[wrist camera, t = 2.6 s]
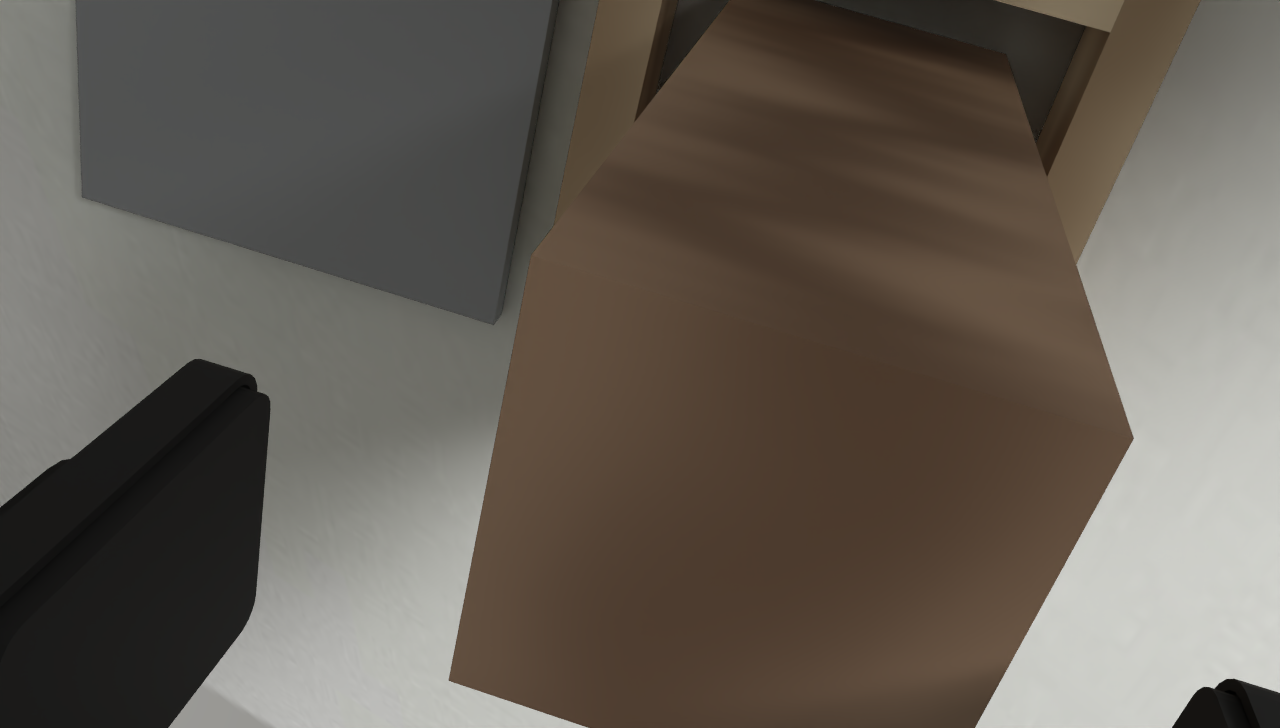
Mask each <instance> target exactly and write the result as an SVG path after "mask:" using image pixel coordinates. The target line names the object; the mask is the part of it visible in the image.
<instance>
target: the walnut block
mask: <svg viewBox="0 0 1280 728" xmlns="http://www.w3.org/2000/svg"><path fill="white" fill-rule="evenodd" d="M1133 439H1134V438H1133V435H1132V432H1131V429H1130V426H1129V423H1128V420H1127V417H1126V414H1125V411H1124V408H1123V405H1122V402H1121V399H1120V396H1119V393H1118V390H1117V387H1116V384H1115V381H1114V378H1113V375H1112V372H1111V369H1110V366H1109V363H1108V360H1107V357H1106V354H1105V351H1104V348H1103V345H1102V342H1101V339H1100V336H1099V333H1098V330H1097V327H1096V324H1095V321H1094V318H1093V315H1092V312H1091V309H1090V306H1089V303H1088V300H1087V297H1086V294H1085V290H1084V287H1083V284H1082V281H1081V278H1080V275H1079V272H1078V269H1077V266H1076V263H1075V260H1074V257H1073V254H1072V251H1071V248H1070V245H1069V242H1068V239H1067V236H1066V233H1065V230H1064V227H1063V224H1062V221H1061V218H1060V215H1059V212H1058V209H1057V206H1056V203H1055V200H1054V197H1053V194H1052V191H1051V188H1050V185H1049V182H1048V179H1047V176H1046V173H1045V170H1044V167H1043V164H1042V161H1041V158H1040V155H1039V152H1038V149H1037V146H1036V143H1035V140H1034V137H1033V134H1032V131H1031V128H1030V125H1029V122H1028V119H1027V116H1026V113H1025V110H1024V107H1023V104H1022V101H1021V98H1020V95H1019V92H1018V89H1017V86H1016V83H1015V80H1014V77H1013V74H1012V71H1011V68H1010V65H1009V62H1008V59H1007V56H1006V54H1004V53H1000V52H997V51H993V50H990V49H986V48H983V47H979V46H975V45H972V44H968V43H965V42H961V41H958V40H954V39H951V38H947V37H943V36H940V35H936V34H933V33H929V32H926V31H922V30H918V29H915V28H911V27H908V26H904V25H901V24H897V23H894V22H890V21H886V20H883V19H879V18H876V17H872V16H869V15H865V14H861V13H858V12H854V11H851V10H847V9H844V8H840V7H837V6H833V5H829V4H826V3H822V2H819V1H815V0H729V2H728V3H727V4H726V6H725V7H724V8H723V9H722V11H721V12H720V13H719V15H718V16H717V17H716V18H715V20H714V21H713V22H712V23H711V25H710V26H709V27H708V29H707V30H706V31H705V32H704V34H703V35H702V36H701V38H700V39H699V40H698V41H697V43H696V44H695V45H694V47H693V48H692V49H691V50H690V52H689V53H688V54H687V56H686V57H685V58H684V59H683V61H682V62H681V63H680V65H679V66H678V67H677V68H676V70H675V71H674V72H673V74H672V75H671V76H670V77H669V79H668V80H667V81H666V83H665V84H664V85H663V86H662V88H661V89H660V90H659V92H658V93H657V94H656V95H655V97H654V98H653V99H652V101H651V102H650V103H649V104H648V106H647V107H646V108H645V110H644V111H643V112H642V113H641V115H640V116H639V117H638V118H637V120H636V121H635V122H634V124H633V125H632V126H631V127H630V129H629V130H628V131H627V133H626V134H625V135H624V136H623V138H622V139H621V140H620V142H619V143H618V144H617V145H616V147H615V148H614V149H613V151H612V152H611V153H610V154H609V156H608V157H607V158H606V160H605V161H604V162H603V163H602V165H601V166H600V167H599V169H598V170H597V171H596V172H595V174H594V175H593V176H592V178H591V179H590V180H589V181H588V183H587V184H586V185H585V187H584V188H583V189H582V190H581V192H580V193H579V194H578V196H577V197H576V198H575V199H574V201H573V202H572V203H571V204H570V206H569V207H568V208H567V210H566V211H565V212H564V213H563V215H562V216H561V217H560V219H559V220H558V221H557V222H556V224H555V225H554V226H553V228H552V229H551V230H550V231H549V233H548V234H547V235H546V237H545V238H544V239H543V240H542V242H541V243H540V244H539V246H538V247H537V248H536V249H535V251H534V252H533V253H532V255H531V258H530V263H529V268H528V273H527V278H526V284H525V289H524V294H523V299H522V304H521V309H520V314H519V320H518V325H517V330H516V335H515V340H514V345H513V351H512V356H511V361H510V366H509V371H508V376H507V382H506V387H505V392H504V397H503V402H502V407H501V413H500V418H499V423H498V428H497V433H496V438H495V444H494V449H493V454H492V459H491V464H490V469H489V475H488V480H487V485H486V490H485V495H484V500H483V506H482V511H481V516H480V521H479V526H478V531H477V537H476V542H475V547H474V552H473V557H472V562H471V568H470V573H469V578H468V583H467V588H466V593H465V599H464V604H463V609H462V614H461V619H460V624H459V630H458V635H457V640H456V645H455V650H454V655H453V661H452V666H451V671H450V676H449V681H451V682H454V683H457V684H460V685H463V686H466V687H469V688H472V689H475V690H478V691H481V692H484V693H487V694H490V695H493V696H496V697H499V698H502V699H505V700H508V701H511V702H514V703H517V704H520V705H523V706H526V707H529V708H532V709H535V710H538V711H540V712H543V713H546V714H549V715H552V716H555V717H558V718H561V719H564V720H567V721H570V722H573V723H576V724H579V725H582V726H585V727H588V728H975V727H976V725H977V723H978V721H979V719H980V717H981V716H982V714H983V712H984V710H985V708H986V707H987V705H988V703H989V701H990V699H991V697H992V696H993V694H994V692H995V690H996V688H997V687H998V685H999V683H1000V681H1001V679H1002V677H1003V676H1004V674H1005V672H1006V670H1007V668H1008V666H1009V665H1010V663H1011V661H1012V659H1013V657H1014V656H1015V654H1016V652H1017V650H1018V648H1019V646H1020V645H1021V643H1022V641H1023V639H1024V637H1025V636H1026V634H1027V632H1028V630H1029V628H1030V626H1031V625H1032V623H1033V621H1034V619H1035V617H1036V616H1037V614H1038V612H1039V610H1040V608H1041V606H1042V605H1043V603H1044V601H1045V599H1046V597H1047V595H1048V594H1049V592H1050V590H1051V588H1052V586H1053V585H1054V583H1055V581H1056V579H1057V577H1058V575H1059V574H1060V572H1061V570H1062V568H1063V566H1064V565H1065V563H1066V561H1067V559H1068V557H1069V555H1070V554H1071V552H1072V550H1073V548H1074V546H1075V545H1076V543H1077V541H1078V539H1079V537H1080V535H1081V534H1082V532H1083V530H1084V528H1085V526H1086V524H1087V523H1088V521H1089V519H1090V517H1091V515H1092V514H1093V512H1094V510H1095V508H1096V506H1097V504H1098V503H1099V501H1100V499H1101V497H1102V495H1103V494H1104V492H1105V490H1106V488H1107V486H1108V484H1109V483H1110V481H1111V479H1112V477H1113V475H1114V474H1115V472H1116V470H1117V468H1118V466H1119V464H1120V463H1121V461H1122V459H1123V457H1124V455H1125V453H1126V452H1127V450H1128V448H1129V446H1130V444H1131V443H1132V441H1133Z"/></svg>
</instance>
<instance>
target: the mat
mask: <svg viewBox="0 0 1280 728" xmlns="http://www.w3.org/2000/svg"><path fill="white" fill-rule="evenodd" d="M558 4H559V0H76V24H77V56H78V87H79V118H80V149H81V180H82V197H83V198H86V199H89V200H92V201H96V202H99V203H102V204H105V205H108V206H112V207H115V208H118V209H121V210H125V211H128V212H131V213H134V214H138V215H141V216H144V217H147V218H150V219H154V220H157V221H160V222H163V223H167V224H170V225H173V226H176V227H179V228H183V229H186V230H189V231H192V232H196V233H199V234H202V235H205V236H208V237H212V238H215V239H218V240H221V241H225V242H228V243H231V244H234V245H237V246H241V247H244V248H247V249H250V250H254V251H257V252H260V253H263V254H266V255H270V256H273V257H276V258H279V259H283V260H286V261H289V262H292V263H296V264H299V265H302V266H305V267H308V268H312V269H315V270H318V271H321V272H325V273H328V274H331V275H334V276H337V277H341V278H344V279H347V280H350V281H354V282H357V283H360V284H363V285H366V286H370V287H373V288H376V289H379V290H383V291H386V292H389V293H392V294H395V295H399V296H402V297H405V298H408V299H412V300H415V301H418V302H421V303H425V304H428V305H431V306H434V307H437V308H441V309H444V310H447V311H450V312H454V313H457V314H460V315H463V316H466V317H470V318H473V319H476V320H479V321H483V322H486V323H489V324H492V325H494V324H495V322H496V321H497V320H498V318H499V317H500V316H501V313H502V308H503V302H504V297H505V292H506V286H507V281H508V275H509V270H510V264H511V259H512V254H513V248H514V243H515V237H516V232H517V226H518V221H519V216H520V210H521V205H522V199H523V194H524V188H525V183H526V178H527V172H528V167H529V161H530V156H531V150H532V145H533V140H534V134H535V129H536V123H537V118H538V112H539V107H540V102H541V96H542V91H543V85H544V80H545V74H546V69H547V64H548V58H549V53H550V47H551V42H552V36H553V31H554V26H555V20H556V15H557V9H558Z"/></svg>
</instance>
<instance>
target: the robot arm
mask: <svg viewBox="0 0 1280 728" xmlns="http://www.w3.org/2000/svg"><path fill="white" fill-rule="evenodd" d="M269 420H270V400H269V397H268V396H267V395H266V394H263V393H259V392H257V384H256V380H255V378H254V377H253V376H252V375H250V374H247V373H244V372H241V371H238V370H234V369H231V368H228V367H225V366H221V365H218V364H215V363H212V362H208V361H205V360H202V359H194V360H192V361H191V362H189V363H187V364H186V365H185V366H184V367H182V368H181V369H180V370H179V371H178V372H176V373H175V374H174V375H173V376H171V377H170V378H169V379H168V380H167V381H165V382H164V383H163V384H162V385H160V386H159V387H158V388H157V389H156V390H154V391H153V392H152V393H151V394H149V395H148V396H147V397H146V398H145V399H143V400H142V401H141V402H140V403H138V404H137V405H136V406H135V407H134V408H132V409H131V410H130V411H129V412H128V413H126V414H125V415H124V416H123V417H121V418H120V419H119V420H118V421H117V422H115V423H114V424H113V425H112V426H110V427H109V428H108V429H107V430H106V431H104V432H103V433H102V434H101V435H99V436H98V437H97V438H96V439H95V440H93V441H92V442H91V443H90V444H89V445H87V446H86V447H85V448H84V449H82V450H81V451H80V452H79V453H78V454H76V455H75V456H74V457H73V458H71V459H68V460H62V461H60V462H58V463H57V464H55V465H53V466H52V467H50V468H49V469H47V470H46V471H45V472H43V473H42V474H41V475H40V476H39V477H37V478H36V479H35V480H34V481H32V482H31V483H30V484H29V485H27V486H26V487H25V488H24V489H22V490H21V491H20V492H19V493H18V494H16V495H15V496H14V497H13V498H11V499H10V500H9V501H8V502H6V503H5V504H4V505H3V506H1V507H0V728H168V727H169V726H170V725H171V723H172V722H173V721H174V719H175V718H176V717H177V716H178V714H179V713H180V712H181V710H182V709H183V708H184V706H185V705H186V704H187V702H188V701H189V700H190V699H191V697H192V696H193V694H194V693H195V692H196V691H197V689H198V688H199V687H200V686H201V684H202V683H203V682H204V680H205V679H206V678H207V676H208V675H209V674H210V672H211V671H212V670H213V669H214V667H215V666H216V665H217V663H218V662H219V661H220V659H221V658H222V657H223V655H224V654H225V653H226V652H227V650H228V649H229V648H230V646H231V645H232V644H233V642H234V641H235V640H236V638H237V637H238V636H239V635H240V633H241V632H242V630H243V629H244V627H245V625H246V623H247V621H248V619H249V617H250V615H251V612H252V609H253V606H254V602H255V597H256V587H257V574H258V561H259V548H260V536H261V523H262V510H263V497H264V484H265V472H266V459H267V446H268V433H269ZM1172 728H1280V693H1278V692H1275V691H1272V690H1268V689H1265V688H1262V687H1259V686H1256V685H1252V684H1249V683H1246V682H1243V681H1239V680H1236V679H1226V680H1224V681H1223V682H1221V683H1219V684H1218V685H1217V687H1216V688H1215V689H1213V688H1210V687H1203V688H1201V689H1199V690H1198V691H1197V692H1196V693H1195V694H1194V695H1193V697H1192V698H1191V700H1190V701H1189V703H1188V704H1187V706H1186V707H1185V709H1184V710H1183V712H1182V713H1181V715H1180V716H1179V718H1178V719H1177V721H1176V722H1175V724H1174V725H1173V727H1172Z"/></svg>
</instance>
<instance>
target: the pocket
mask: <svg viewBox="0 0 1280 728" xmlns="http://www.w3.org/2000/svg"><path fill="white" fill-rule="evenodd" d="M995 1H999V2H1002V3H1006V4H1010V5H1013V6H1017V7H1020V8H1024V9H1028V10H1031V11H1035V12H1038V13H1042V14H1046V15H1049V16H1053V17H1056V18H1060V19H1064V20H1067V21H1071V22H1074V23H1078V24H1082V25H1085V26H1086V27H1085V30H1084V32H1083V34H1082V37H1081V39H1080V42H1079V44H1078V46H1077V49H1076V51H1075V53H1074V56H1073V58H1072V60H1071V63H1070V65H1069V67H1068V70H1067V72H1066V74H1065V77H1064V79H1063V82H1062V84H1061V86H1060V89H1059V91H1058V93H1057V96H1056V98H1055V100H1054V103H1053V105H1052V107H1051V110H1050V112H1049V114H1048V117H1047V119H1046V122H1045V124H1044V126H1043V129H1042V131H1041V133H1040V136H1039V138H1038V140H1037V143H1036V146H1037V149H1038V152H1039V155H1040V158H1041V161H1042V164H1043V167H1044V170H1045V173H1046V176H1047V179H1048V182H1049V185H1050V188H1051V191H1052V194H1053V197H1054V200H1055V203H1056V206H1057V209H1058V212H1059V215H1060V218H1061V221H1062V224H1063V227H1064V230H1065V233H1066V236H1067V239H1068V242H1069V245H1070V248H1071V251H1072V254H1073V257H1074V260H1075V263H1076V264H1077V262H1078V260H1079V257H1080V255H1081V253H1082V251H1083V249H1084V247H1085V245H1086V243H1087V240H1088V238H1089V236H1090V234H1091V232H1092V230H1093V228H1094V226H1095V224H1096V221H1097V219H1098V217H1099V215H1100V213H1101V211H1102V209H1103V207H1104V204H1105V202H1106V200H1107V198H1108V196H1109V194H1110V192H1111V190H1112V187H1113V185H1114V183H1115V181H1116V179H1117V177H1118V175H1119V173H1120V170H1121V168H1122V166H1123V164H1124V162H1125V160H1126V158H1127V156H1128V153H1129V151H1130V149H1131V147H1132V145H1133V143H1134V141H1135V139H1136V137H1137V134H1138V132H1139V130H1140V128H1141V126H1142V124H1143V122H1144V120H1145V117H1146V115H1147V113H1148V111H1149V109H1150V107H1151V105H1152V103H1153V100H1154V98H1155V96H1156V94H1157V92H1158V90H1159V88H1160V86H1161V83H1162V81H1163V79H1164V77H1165V75H1166V73H1167V71H1168V69H1169V67H1170V64H1171V62H1172V60H1173V58H1174V56H1175V54H1176V52H1177V50H1178V47H1179V45H1180V43H1181V41H1182V39H1183V37H1184V35H1185V33H1186V30H1187V28H1188V26H1189V24H1190V22H1191V20H1192V18H1193V16H1194V13H1195V11H1196V9H1197V7H1198V5H1199V3H1200V1H1201V0H995ZM677 3H678V0H599V3H598V8H597V13H596V18H595V23H594V28H593V33H592V38H591V43H590V48H589V52H588V57H587V62H586V67H585V72H584V77H583V82H582V87H581V92H580V97H579V102H578V107H577V112H576V117H575V122H574V127H573V132H572V137H571V142H570V147H569V151H568V156H567V161H566V166H565V171H564V176H563V181H562V186H561V191H560V196H559V201H558V206H557V211H556V216H555V221H554V225H555V224H556V222H557V221H558V220H559V219H560V217H561V216H562V215H563V213H564V212H565V211H566V210H567V208H568V207H569V206H570V204H571V203H572V202H573V201H574V199H575V198H576V197H577V196H578V194H579V193H580V192H581V190H582V189H583V188H584V187H585V185H586V184H587V183H588V181H589V180H590V179H591V178H592V176H593V175H594V174H595V172H596V171H597V170H598V169H599V167H600V166H601V165H602V163H603V162H604V161H605V160H606V158H607V157H608V156H609V154H610V153H611V152H612V151H613V149H614V148H615V147H616V145H617V144H618V143H619V142H620V140H621V139H622V138H623V136H624V135H625V134H626V133H627V131H628V130H629V129H630V127H631V126H632V125H633V124H634V122H635V121H636V120H637V118H638V117H639V116H640V115H641V113H642V112H643V111H644V110H645V108H646V107H647V106H648V104H649V103H650V102H651V101H652V99H653V98H654V97H655V95H656V91H657V87H658V83H659V78H660V74H661V70H662V66H663V62H664V57H665V53H666V49H667V45H668V41H669V36H670V32H671V28H672V24H673V19H674V15H675V11H676V7H677Z"/></svg>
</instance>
